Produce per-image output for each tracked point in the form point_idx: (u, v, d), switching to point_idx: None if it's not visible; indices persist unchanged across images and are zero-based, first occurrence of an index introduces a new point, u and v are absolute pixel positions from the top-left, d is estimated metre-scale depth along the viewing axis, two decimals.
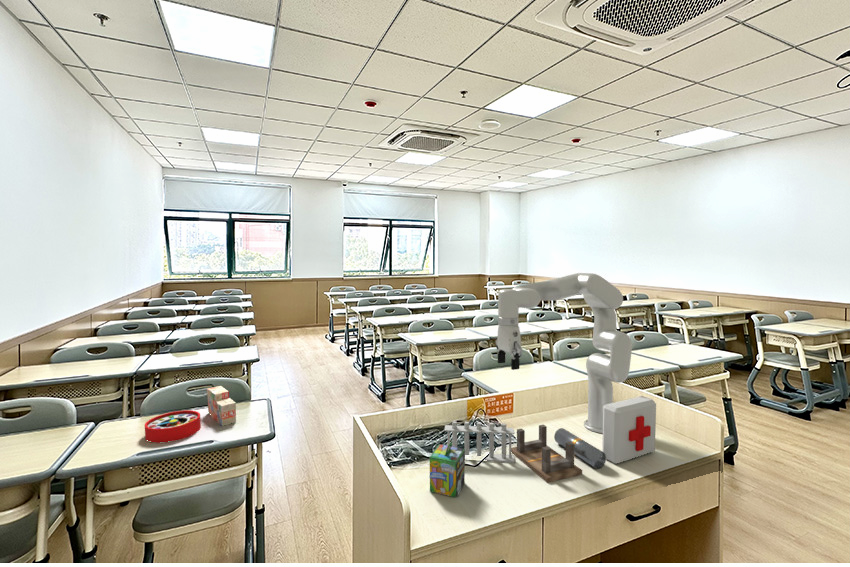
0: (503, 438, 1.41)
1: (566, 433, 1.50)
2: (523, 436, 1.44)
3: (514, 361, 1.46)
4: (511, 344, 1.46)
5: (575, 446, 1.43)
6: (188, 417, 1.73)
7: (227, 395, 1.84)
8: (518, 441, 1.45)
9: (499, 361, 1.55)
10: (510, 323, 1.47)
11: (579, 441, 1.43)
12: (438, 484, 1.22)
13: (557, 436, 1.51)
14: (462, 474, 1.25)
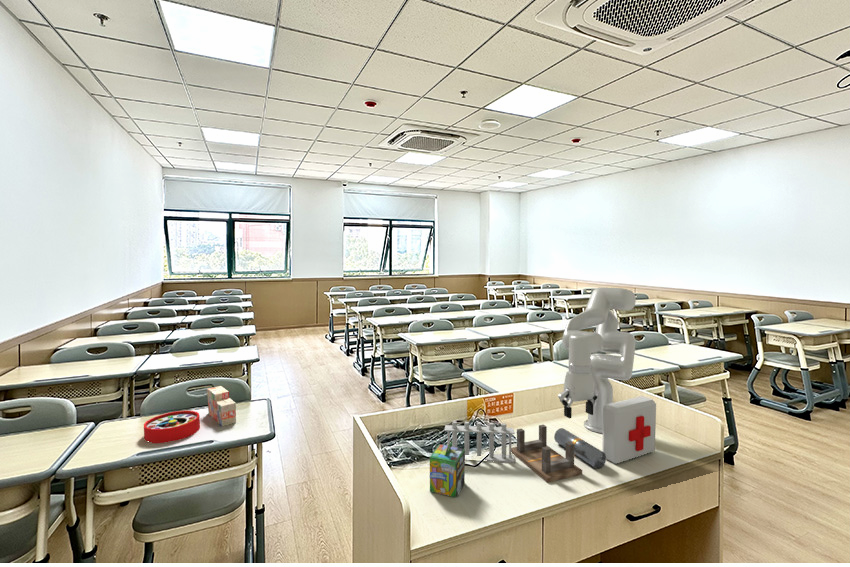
0: (503, 438, 1.41)
1: (566, 433, 1.50)
2: (523, 436, 1.44)
3: (592, 405, 1.45)
4: None
5: (575, 446, 1.43)
6: (187, 417, 1.73)
7: (227, 395, 1.83)
8: (518, 441, 1.45)
9: None
10: None
11: (579, 441, 1.43)
12: (438, 484, 1.22)
13: (557, 436, 1.51)
14: (462, 474, 1.25)
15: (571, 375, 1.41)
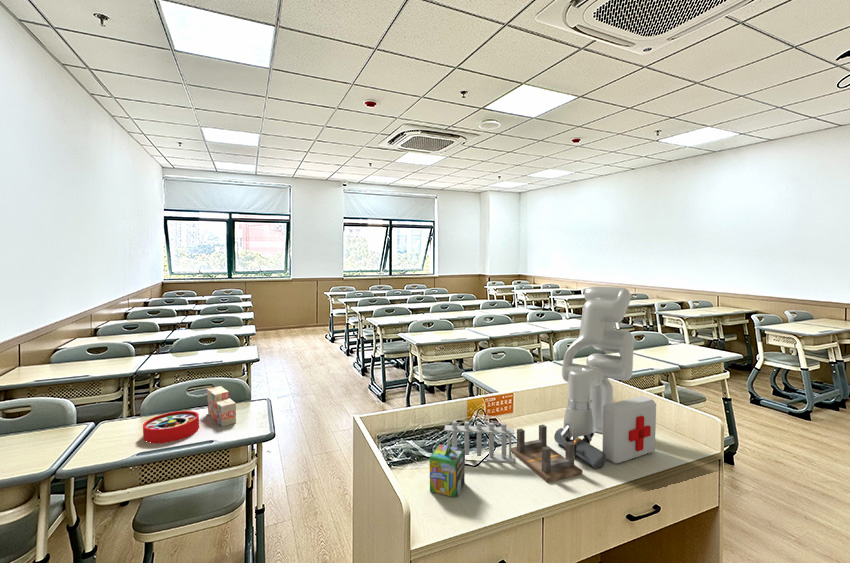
0: (503, 438, 1.41)
1: None
2: (523, 436, 1.44)
3: (589, 442, 1.45)
4: None
5: (575, 446, 1.43)
6: (186, 417, 1.73)
7: (227, 395, 1.83)
8: (518, 441, 1.45)
9: None
10: None
11: (579, 441, 1.43)
12: (438, 484, 1.22)
13: (557, 436, 1.51)
14: (462, 474, 1.25)
15: (571, 411, 1.42)
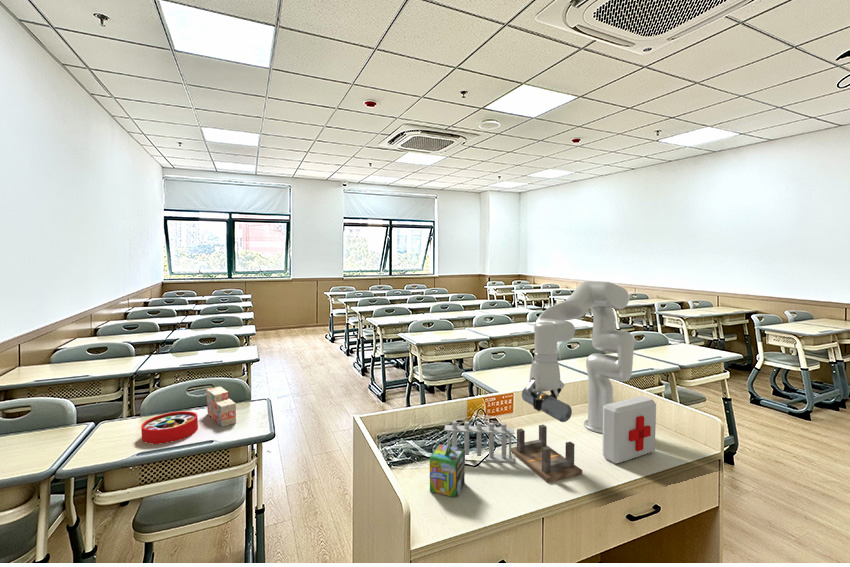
0: (503, 438, 1.41)
1: None
2: (523, 436, 1.44)
3: (556, 398, 1.39)
4: None
5: (541, 401, 1.36)
6: (185, 418, 1.72)
7: (227, 396, 1.83)
8: (518, 441, 1.45)
9: None
10: None
11: (545, 396, 1.37)
12: (438, 484, 1.22)
13: (525, 394, 1.45)
14: (462, 474, 1.25)
15: (536, 364, 1.36)
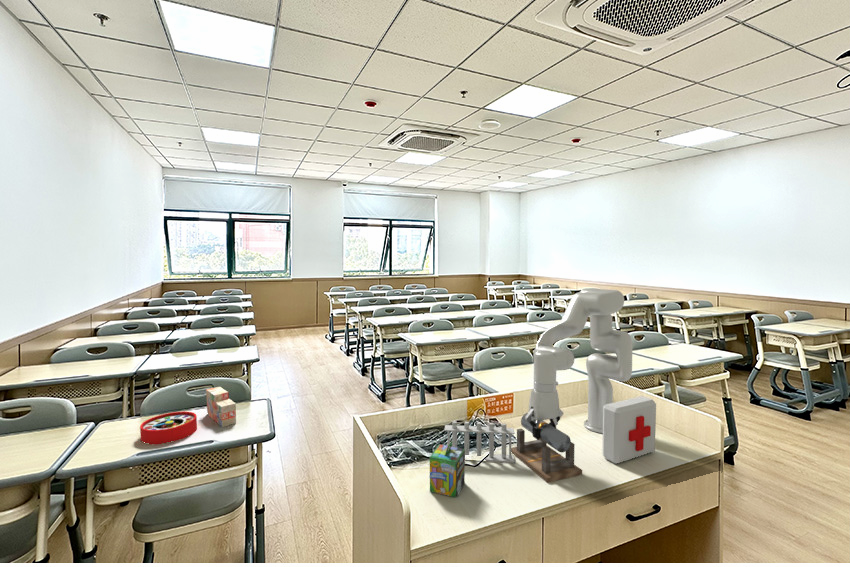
0: (503, 438, 1.41)
1: (532, 417, 1.44)
2: (523, 436, 1.44)
3: (555, 427, 1.40)
4: None
5: (540, 430, 1.37)
6: (184, 418, 1.72)
7: (227, 396, 1.83)
8: (518, 441, 1.45)
9: None
10: None
11: (544, 425, 1.37)
12: (438, 484, 1.22)
13: (524, 421, 1.46)
14: (462, 474, 1.25)
15: (535, 393, 1.36)
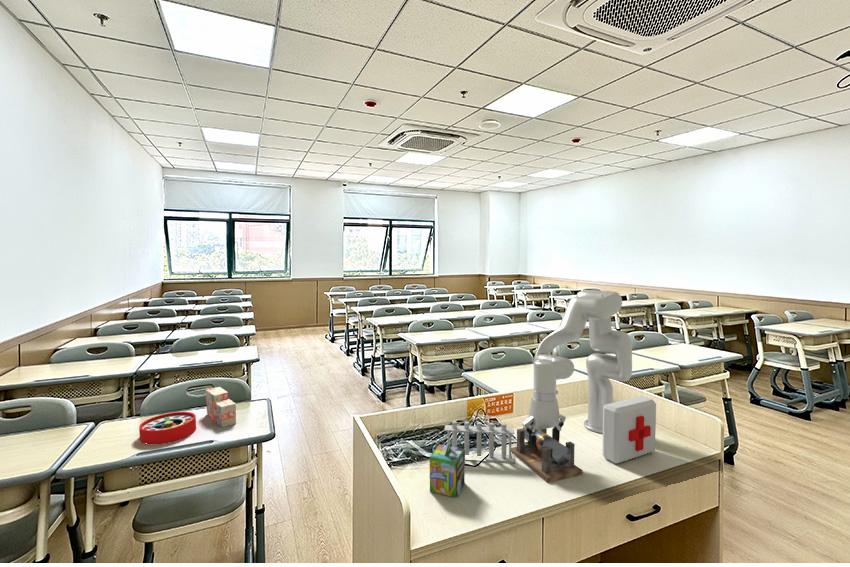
0: (503, 438, 1.41)
1: (533, 429, 1.45)
2: (523, 436, 1.44)
3: None
4: None
5: (541, 442, 1.37)
6: (183, 418, 1.71)
7: (226, 396, 1.82)
8: (518, 441, 1.45)
9: None
10: None
11: (545, 437, 1.38)
12: (438, 484, 1.22)
13: None
14: (462, 474, 1.25)
15: (535, 402, 1.36)
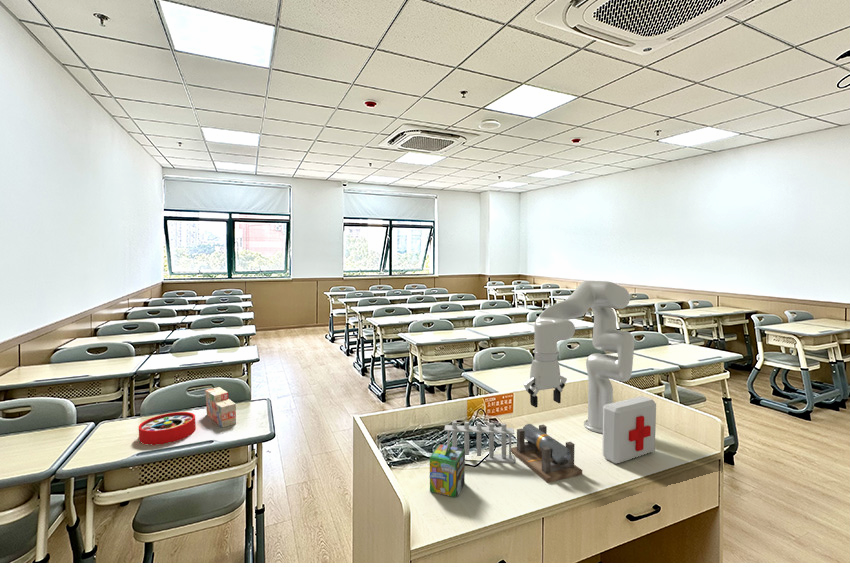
0: (503, 438, 1.41)
1: (533, 429, 1.45)
2: (523, 436, 1.44)
3: None
4: None
5: (541, 442, 1.37)
6: (183, 419, 1.71)
7: (226, 396, 1.82)
8: (518, 441, 1.45)
9: None
10: None
11: (545, 437, 1.38)
12: (438, 484, 1.22)
13: None
14: (462, 474, 1.25)
15: (536, 363, 1.37)
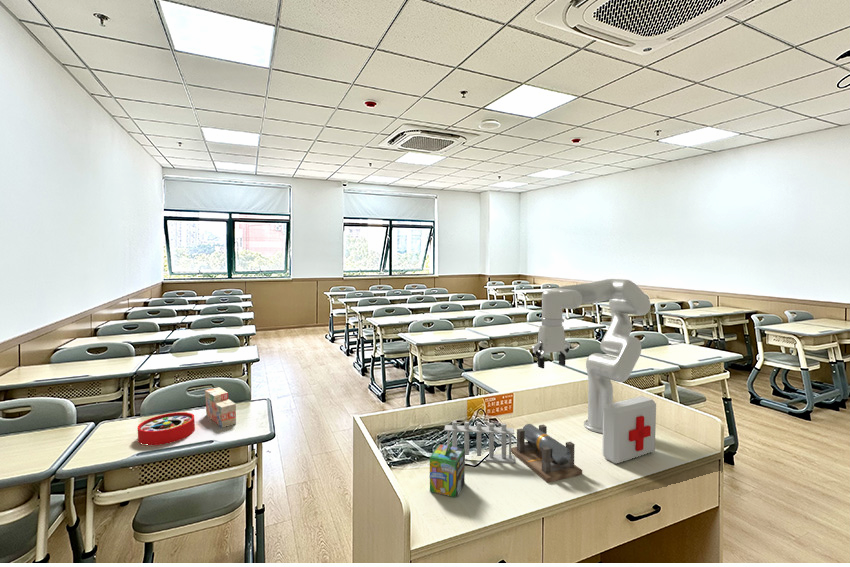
0: (503, 438, 1.41)
1: (533, 429, 1.45)
2: (523, 436, 1.44)
3: (564, 357, 1.54)
4: None
5: (540, 442, 1.37)
6: (182, 419, 1.71)
7: (226, 396, 1.82)
8: (518, 441, 1.45)
9: None
10: None
11: (545, 437, 1.38)
12: (438, 484, 1.22)
13: None
14: (462, 474, 1.25)
15: (544, 328, 1.50)
